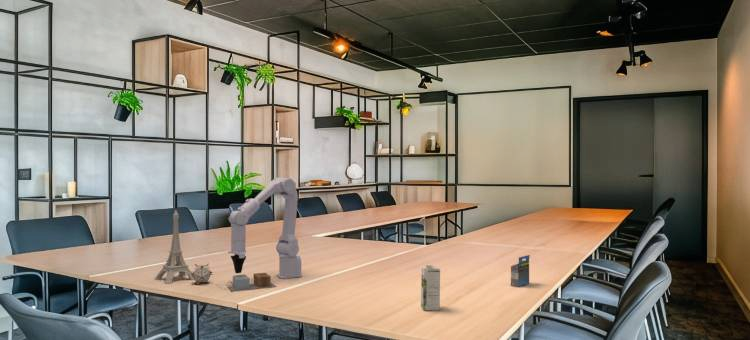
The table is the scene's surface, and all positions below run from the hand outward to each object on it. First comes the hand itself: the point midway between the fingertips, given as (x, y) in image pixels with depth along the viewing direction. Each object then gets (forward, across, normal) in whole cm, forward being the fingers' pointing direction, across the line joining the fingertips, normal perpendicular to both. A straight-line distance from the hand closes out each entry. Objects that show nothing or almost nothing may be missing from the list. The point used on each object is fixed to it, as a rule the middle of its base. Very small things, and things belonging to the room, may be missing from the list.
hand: (238, 272), depth 209 cm
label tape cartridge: (+5, +51, +105) cm, 117 cm away
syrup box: (+5, +64, +52) cm, 83 cm away
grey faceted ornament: (+5, -10, -13) cm, 17 cm away
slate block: (+3, +1, 0) cm, 3 cm away
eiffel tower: (+5, -22, -22) cm, 32 cm away
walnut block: (+3, +1, +8) cm, 9 cm away
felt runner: (+5, +6, +4) cm, 9 cm away
